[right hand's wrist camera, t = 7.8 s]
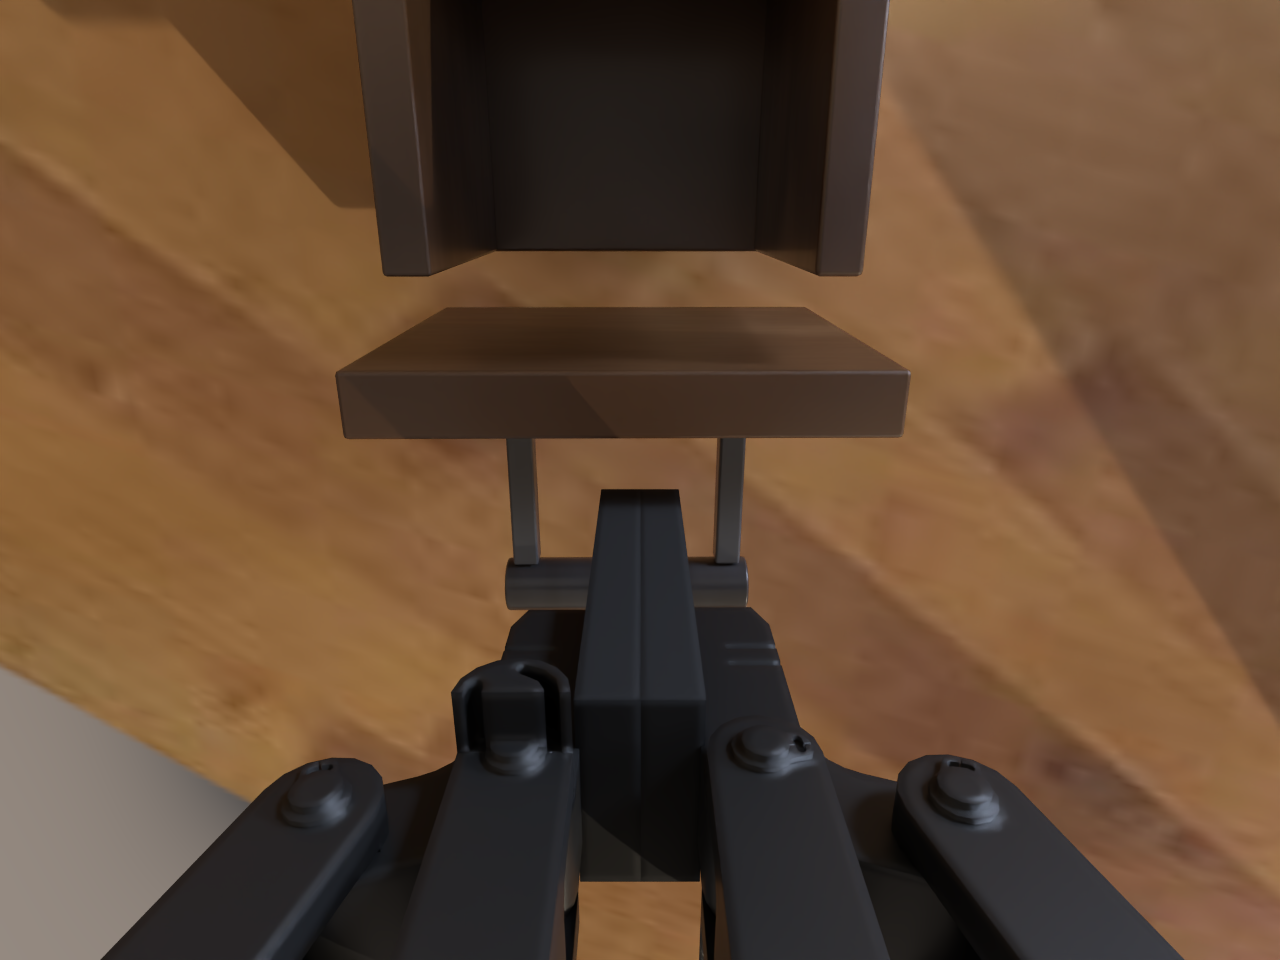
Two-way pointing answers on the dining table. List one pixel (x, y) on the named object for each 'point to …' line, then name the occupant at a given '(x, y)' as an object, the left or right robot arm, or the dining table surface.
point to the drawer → (622, 233)
